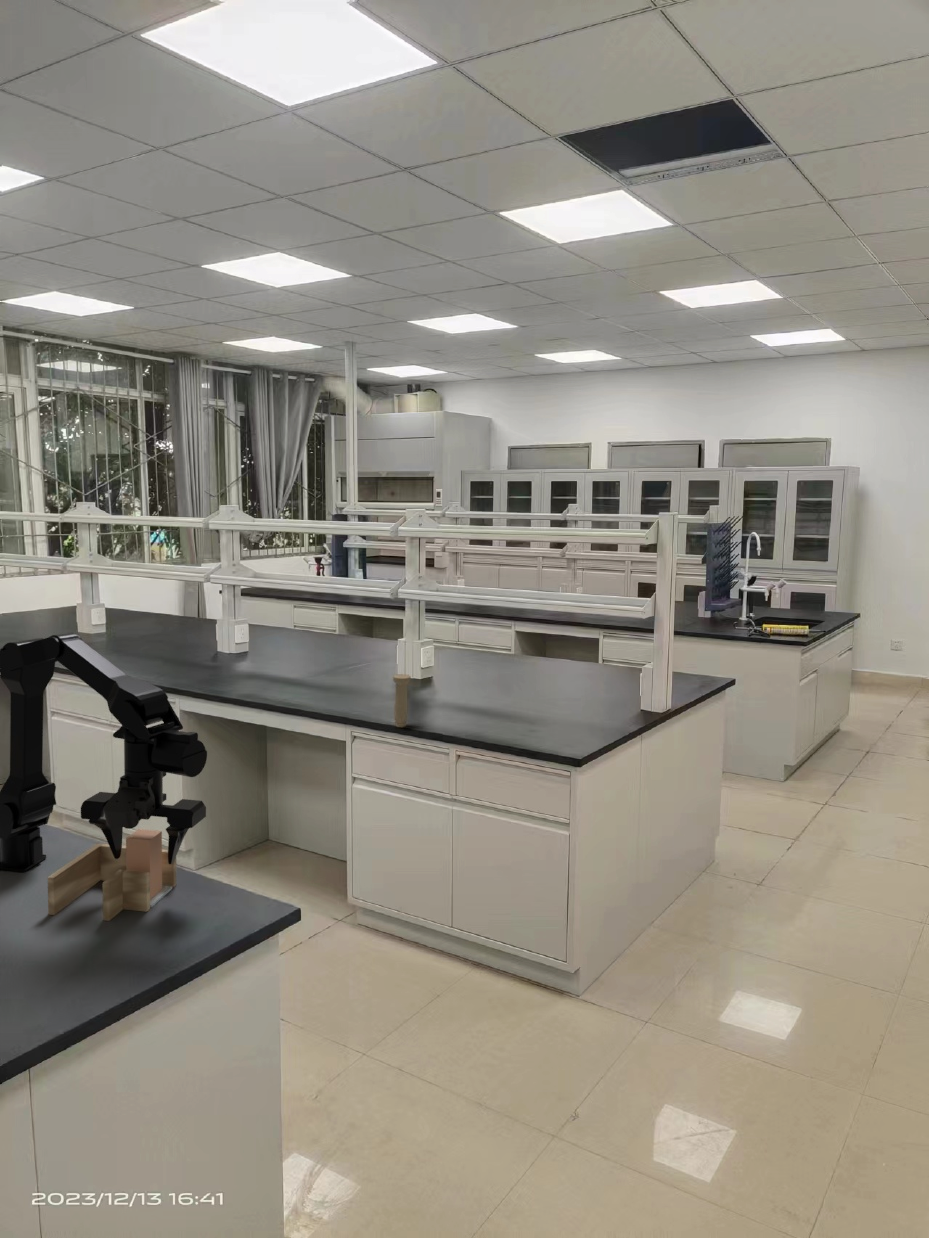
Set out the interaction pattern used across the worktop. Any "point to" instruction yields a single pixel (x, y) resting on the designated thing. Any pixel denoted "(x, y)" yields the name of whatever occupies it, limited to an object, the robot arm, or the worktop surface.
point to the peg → (146, 856)
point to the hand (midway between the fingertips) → (144, 860)
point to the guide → (107, 882)
